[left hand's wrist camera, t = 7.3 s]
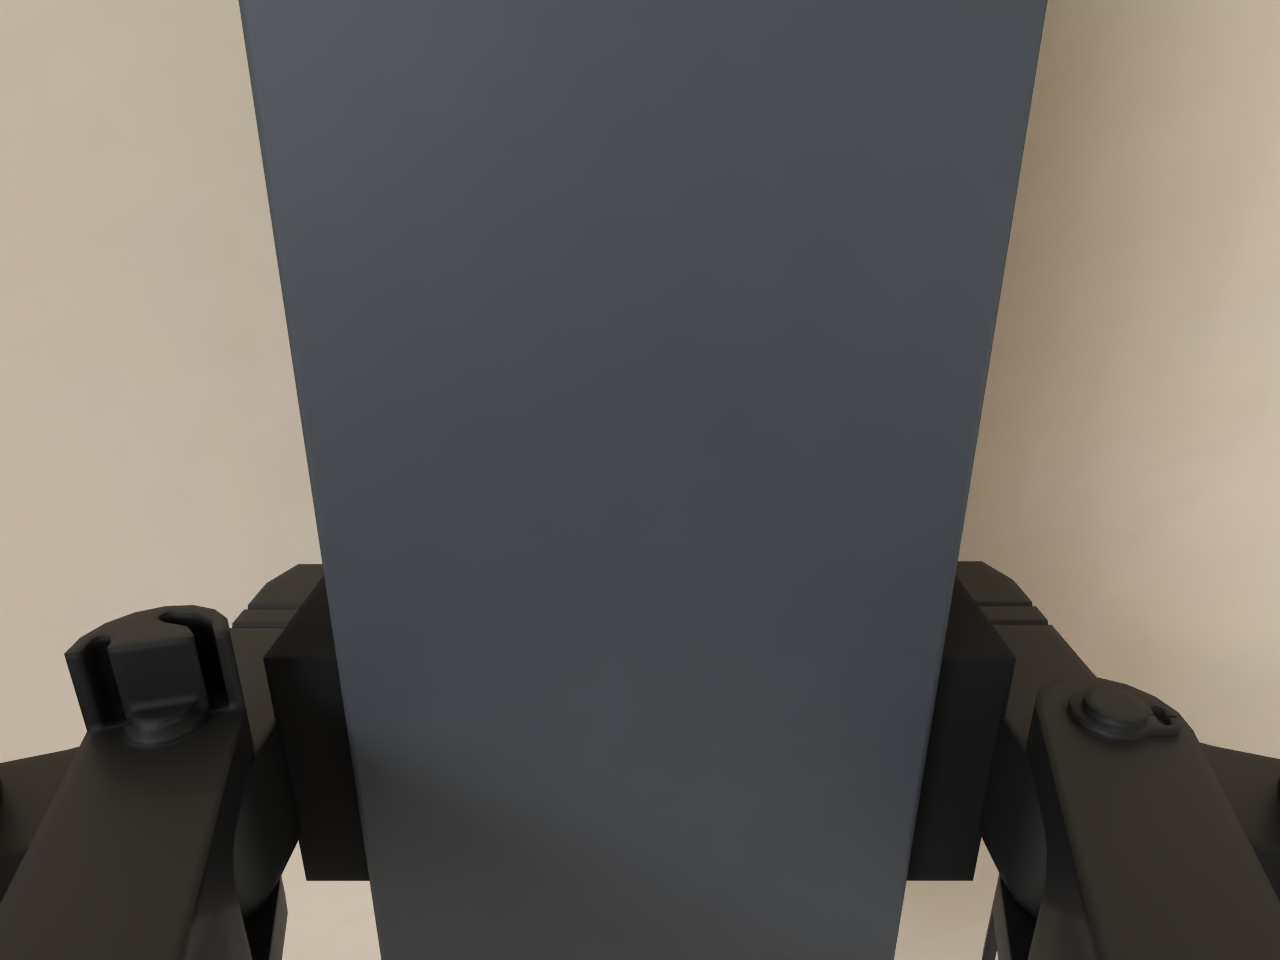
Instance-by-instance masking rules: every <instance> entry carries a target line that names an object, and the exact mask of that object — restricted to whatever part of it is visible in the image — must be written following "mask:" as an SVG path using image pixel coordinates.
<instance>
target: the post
mask: <svg viewBox="0 0 1280 960" xmlns="http://www.w3.org/2000/svg"><path fill="white" fill-rule="evenodd" d="M239 6H240V12H241V19H242V26H243V32H244V39H245V46H246V53H247V59H248V66H249V73H250V80H251V86H252V93H253V100H254V106H255V113H256V120H257V127H258V133H259V140H260V147H261V153H262V160H263V167H264V174H265V180H266V187H267V194H268V200H269V207H270V214H271V221H272V227H273V234H274V241H275V247H276V254H277V261H278V268H279V274H280V281H281V288H282V294H283V301H284V308H285V315H286V321H287V328H288V335H289V342H290V348H291V355H292V362H293V368H294V375H295V382H296V389H297V395H298V402H299V409H300V415H301V422H302V429H303V436H304V442H305V449H306V456H307V462H308V469H309V476H310V483H311V489H312V496H313V503H314V509H315V516H316V523H317V530H318V536H319V543H320V550H321V556H322V563H323V570H324V577H325V583H326V590H327V597H328V604H329V610H330V617H331V624H332V630H333V637H334V644H335V651H336V657H337V664H338V671H339V677H340V684H341V691H342V698H343V704H344V711H345V718H346V724H347V731H348V738H349V745H350V751H351V758H352V765H353V771H354V778H355V785H356V792H357V798H358V805H359V812H360V819H361V825H362V832H363V839H364V845H365V852H366V859H367V866H368V872H369V879H370V886H371V892H372V899H373V906H374V913H375V919H376V926H377V933H378V939H379V946H380V953H381V960H894V955H895V948H896V942H897V936H898V930H899V924H900V917H901V911H902V905H903V899H904V892H905V886H906V880H907V874H908V867H909V861H910V855H911V849H912V842H913V836H914V830H915V824H916V817H917V811H918V805H919V799H920V792H921V786H922V780H923V774H924V767H925V761H926V755H927V749H928V742H929V736H930V730H931V724H932V717H933V711H934V705H935V699H936V692H937V686H938V680H939V674H940V667H941V661H942V655H943V649H944V643H945V636H946V630H947V624H948V618H949V611H950V605H951V599H952V593H953V586H954V580H955V574H956V568H957V561H958V555H959V549H960V543H961V536H962V530H963V524H964V518H965V511H966V505H967V499H968V493H969V486H970V480H971V474H972V468H973V461H974V455H975V449H976V443H977V436H978V430H979V424H980V418H981V411H982V405H983V399H984V393H985V387H986V380H987V374H988V368H989V362H990V355H991V349H992V343H993V337H994V330H995V324H996V318H997V312H998V305H999V299H1000V293H1001V287H1002V280H1003V274H1004V268H1005V262H1006V255H1007V249H1008V243H1009V237H1010V230H1011V224H1012V218H1013V212H1014V205H1015V199H1016V193H1017V187H1018V180H1019V174H1020V168H1021V162H1022V155H1023V149H1024V143H1025V137H1026V130H1027V124H1028V118H1029V112H1030V106H1031V99H1032V93H1033V87H1034V81H1035V74H1036V68H1037V62H1038V56H1039V49H1040V43H1041V37H1042V31H1043V24H1044V18H1045V12H1046V6H1047V0H239Z"/></svg>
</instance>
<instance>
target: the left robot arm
mask: <svg viewBox="0 0 1280 960" xmlns="http://www.w3.org/2000/svg"><path fill="white" fill-rule="evenodd" d="M232 625H233V626H232V628H229V625H228V620H227V618H226V617H224V616H223V615H222V614H220V613H219V612H218V611H216V610H215V609H210V608H205V607H200V606H195V605H186V606H164V607H160V608H155V609H150V610H145V611H140V612H135V613H132V614H130V615H127V616H124V617H121V618H119V619H116V620H113V621H111V622H108V623H105V624H103V625H102V626H100V627H98V628H96V629H95V630H93V631H91V632H89V633H88V634H86V635H84V636H83V637H81V638H80V639H79V640H78V641H77V642H76V643H75V644H74V645H73V646H72V647H71V648H70V649H69V650H68V651H67V652H66V653H65V654H64V655H65V658H66V661H67V665H68V668H69V672H70V675H71V678H72V682H73V685H74V688H75V692H76V695H77V698H78V702H79V705H80V708H81V712H82V715H83V719H84V722H85V725H86V729H87V733H86V735H85V737H84V739H83V741H82V743H81V745H80V747H76V748H72V749H69V750H64V751H59V752H54V753H49V754H44V755H39V756H34V757H29V758H24V759H19V760H14V761H9V762H4V763H0V960H282V953H283V946H284V938H285V930H286V922H287V914H288V911H287V904H286V897H285V892H284V887H283V882H282V877H281V875H282V873H283V871H284V868H285V866H286V864H287V862H288V860H289V858H290V856H291V854H292V852H293V850H294V848H295V846H296V844H297V842H298V840H299V844H300V849H301V855H302V860H303V865H304V870H305V875H306V880H307V881H370V879H369V872H368V866H367V859H366V852H365V845H364V839H363V832H362V825H361V819H360V812H359V805H358V798H357V792H356V785H355V778H354V771H353V765H352V758H351V751H350V745H349V738H348V731H347V724H346V718H345V711H344V704H343V698H342V691H341V684H340V677H339V671H338V664H337V657H336V651H335V644H334V637H333V630H332V624H331V617H330V610H329V604H328V597H327V590H326V583H325V577H324V570H323V564H298V565H296V566H295V567H293V568H291V569H290V570H288V571H286V572H285V573H283V574H281V575H280V576H278V577H276V578H274V579H273V580H271V581H269V582H268V583H266V585H265V586H264V587H263V588H262V589H261V590H260V592H259V593H258V594H257V595H256V596H255V598H254V599H253V600H252V601H251V602H250V603H249V605H248V610H243V612H242V613H241V614H240V615H239V616H238V618H237V619H236V620H235V621H234V622H233V623H232ZM981 837H982V839H983V841H984V843H985V845H986V847H987V849H988V851H989V853H990V855H991V857H992V859H993V861H994V863H995V865H996V867H997V869H998V871H999V877H998V882H997V887H996V892H995V896H994V901H993V906H992V911H991V915H990V920H989V925H988V930H987V934H986V939H985V944H984V949H983V956H982V960H995V956H996V952H997V951H998V959H999V960H1280V759H1276V758H1271V757H1266V756H1261V755H1255V754H1250V753H1245V752H1240V751H1235V750H1230V749H1225V748H1220V747H1215V746H1211V745H1207V744H1203V743H1199V741H1198V739H1197V737H1196V735H1195V733H1194V731H1193V730H1192V729H1191V727H1190V726H1189V725H1188V724H1187V722H1186V721H1185V720H1184V719H1183V718H1182V716H1181V715H1180V714H1179V713H1178V712H1177V711H1175V710H1174V709H1172V708H1171V707H1169V706H1168V705H1167V704H1165V703H1164V702H1162V701H1161V700H1159V699H1158V698H1156V697H1155V696H1152V695H1150V694H1148V693H1145V692H1143V691H1141V690H1138V689H1136V688H1134V687H1131V686H1129V685H1127V684H1122V683H1118V682H1114V681H1110V680H1106V679H1102V678H1097V677H1096V676H1095V675H1094V674H1093V673H1092V672H1091V670H1090V669H1089V668H1088V667H1087V666H1086V665H1085V663H1084V662H1083V661H1082V660H1081V659H1080V658H1079V656H1078V655H1077V654H1076V653H1075V652H1074V651H1073V649H1072V648H1071V647H1070V646H1069V645H1068V644H1067V642H1066V641H1065V640H1064V639H1063V638H1062V637H1061V635H1060V634H1059V633H1058V632H1057V631H1056V630H1055V628H1054V627H1053V626H1052V625H1048V620H1047V619H1046V618H1045V617H1044V615H1043V614H1042V613H1041V612H1040V611H1039V610H1038V608H1037V607H1036V606H1032V601H1031V600H1030V599H1029V598H1028V597H1027V596H1026V594H1025V593H1024V592H1023V591H1022V590H1021V589H1020V587H1019V586H1018V585H1017V584H1016V583H1015V582H1014V580H1012V579H1010V578H1009V577H1007V576H1005V575H1004V574H1002V573H1000V572H999V571H997V570H995V569H994V568H992V567H990V566H989V565H987V564H985V563H984V562H982V561H957V568H956V574H955V580H954V586H953V593H952V599H951V605H950V611H949V618H948V624H947V630H946V636H945V643H944V649H943V655H942V661H941V667H940V674H939V680H938V686H937V692H936V699H935V705H934V711H933V717H932V724H931V730H930V736H929V742H928V749H927V755H926V761H925V767H924V774H923V780H922V786H921V792H920V799H919V805H918V811H917V817H916V824H915V830H914V836H913V842H912V849H911V855H910V861H909V867H908V874H907V880H906V881H973V877H974V872H975V867H976V862H977V857H978V852H979V847H980V842H981Z"/></svg>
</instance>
